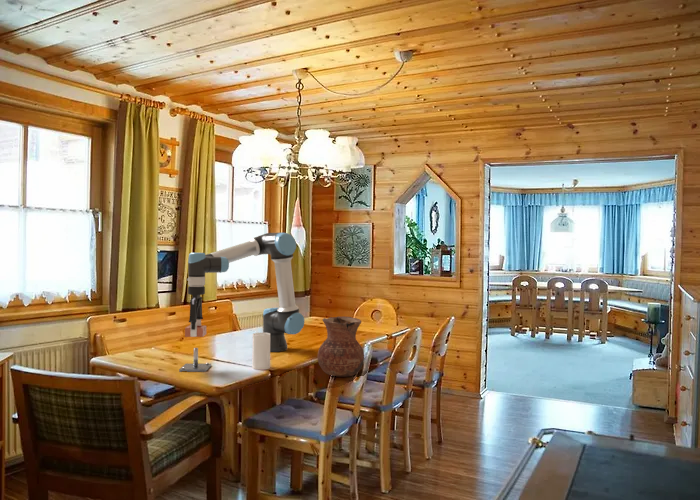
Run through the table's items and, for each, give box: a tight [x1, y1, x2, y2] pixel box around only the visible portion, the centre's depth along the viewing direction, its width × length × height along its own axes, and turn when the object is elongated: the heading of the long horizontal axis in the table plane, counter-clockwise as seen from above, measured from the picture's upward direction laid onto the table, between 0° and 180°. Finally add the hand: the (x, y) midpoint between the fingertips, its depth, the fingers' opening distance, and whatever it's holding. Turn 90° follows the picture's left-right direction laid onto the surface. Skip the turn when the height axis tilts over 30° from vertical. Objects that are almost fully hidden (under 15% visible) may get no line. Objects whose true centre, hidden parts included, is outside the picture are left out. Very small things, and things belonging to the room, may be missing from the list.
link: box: [184, 324, 207, 338], centre depth 253 cm, size 8×8×4 cm
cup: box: [251, 332, 271, 371], centre depth 257 cm, size 8×8×16 cm
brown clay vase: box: [317, 316, 365, 378], centre depth 248 cm, size 22×21×25 cm
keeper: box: [178, 347, 212, 373], centre depth 253 cm, size 12×12×10 cm
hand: (195, 334), depth 253 cm, fingers closed on link, 8 cm apart
